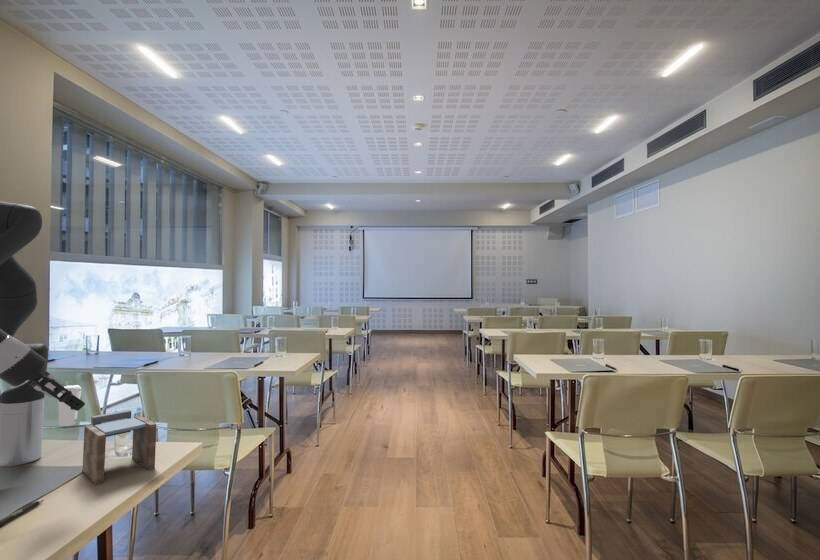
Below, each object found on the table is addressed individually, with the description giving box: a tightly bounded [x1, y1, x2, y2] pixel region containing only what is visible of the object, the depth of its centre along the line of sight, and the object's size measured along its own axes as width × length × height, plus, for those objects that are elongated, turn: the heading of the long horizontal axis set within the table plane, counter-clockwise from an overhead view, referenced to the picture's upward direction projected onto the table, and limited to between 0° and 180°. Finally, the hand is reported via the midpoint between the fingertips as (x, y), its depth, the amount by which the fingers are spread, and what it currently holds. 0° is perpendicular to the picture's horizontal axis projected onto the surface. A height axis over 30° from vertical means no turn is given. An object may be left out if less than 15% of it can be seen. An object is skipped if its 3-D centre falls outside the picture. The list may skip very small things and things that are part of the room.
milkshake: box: [56, 380, 83, 427], centre depth 95 cm, size 4×5×10 cm
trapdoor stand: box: [81, 415, 157, 485], centre depth 109 cm, size 13×13×12 cm
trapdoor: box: [90, 409, 146, 438], centre depth 111 cm, size 13×9×6 cm
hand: (78, 405), depth 97 cm, fingers closed on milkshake, 4 cm apart
